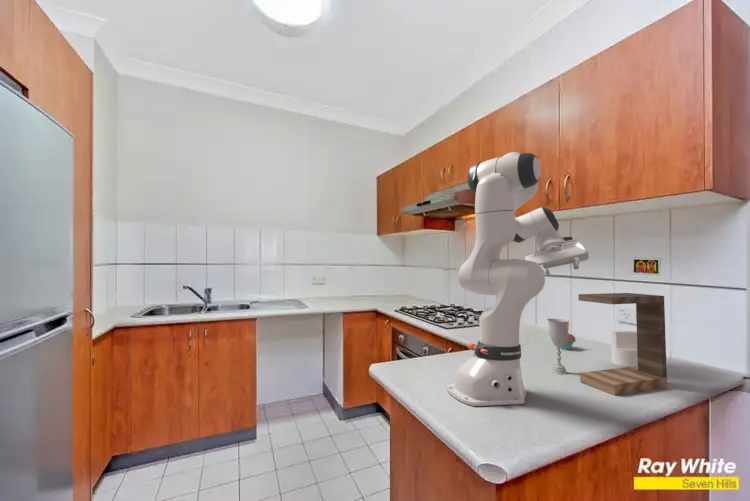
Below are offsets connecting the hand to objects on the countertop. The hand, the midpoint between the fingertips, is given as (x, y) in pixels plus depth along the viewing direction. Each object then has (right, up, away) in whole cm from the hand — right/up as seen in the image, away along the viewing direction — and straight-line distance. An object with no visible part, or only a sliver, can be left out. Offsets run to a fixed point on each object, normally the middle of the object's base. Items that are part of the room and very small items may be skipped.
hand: (561, 270), depth 117 cm
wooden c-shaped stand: (+11, -35, -14) cm, 39 cm away
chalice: (-2, -35, -2) cm, 36 cm away
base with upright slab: (+30, -36, +9) cm, 48 cm away
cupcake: (+19, -37, +30) cm, 51 cm away
